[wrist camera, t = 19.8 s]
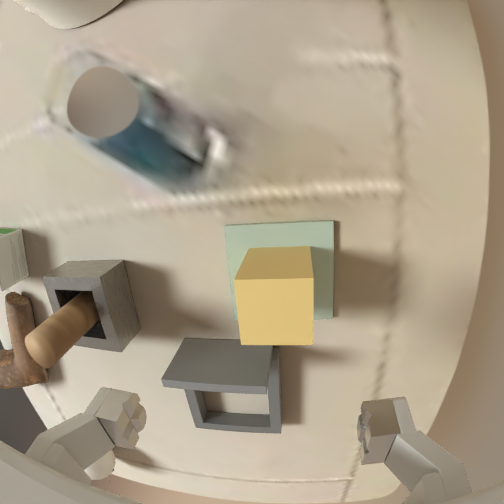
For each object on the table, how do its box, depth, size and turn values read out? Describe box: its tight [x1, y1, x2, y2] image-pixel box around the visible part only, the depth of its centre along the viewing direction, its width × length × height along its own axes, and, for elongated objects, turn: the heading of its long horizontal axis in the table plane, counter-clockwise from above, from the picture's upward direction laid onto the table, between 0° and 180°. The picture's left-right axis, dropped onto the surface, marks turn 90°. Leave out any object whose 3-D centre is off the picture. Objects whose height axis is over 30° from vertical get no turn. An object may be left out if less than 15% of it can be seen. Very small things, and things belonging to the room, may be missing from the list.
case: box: [161, 338, 282, 433], centre depth 26 cm, size 11×9×6 cm
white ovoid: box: [84, 450, 115, 480], centre depth 34 cm, size 10×7×7 cm
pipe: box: [0, 292, 49, 389], centre depth 30 cm, size 6×17×10 cm
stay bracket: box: [43, 260, 140, 352], centre depth 26 cm, size 7×7×4 cm
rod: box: [25, 291, 100, 369], centre depth 23 cm, size 3×3×10 cm
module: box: [234, 246, 314, 345], centre depth 21 cm, size 4×4×6 cm
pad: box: [224, 220, 334, 321], centre depth 24 cm, size 8×8×1 cm
